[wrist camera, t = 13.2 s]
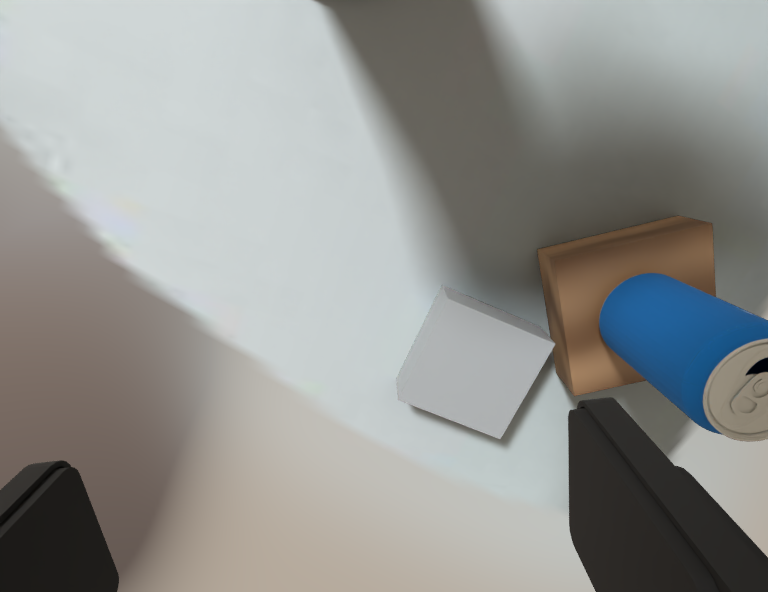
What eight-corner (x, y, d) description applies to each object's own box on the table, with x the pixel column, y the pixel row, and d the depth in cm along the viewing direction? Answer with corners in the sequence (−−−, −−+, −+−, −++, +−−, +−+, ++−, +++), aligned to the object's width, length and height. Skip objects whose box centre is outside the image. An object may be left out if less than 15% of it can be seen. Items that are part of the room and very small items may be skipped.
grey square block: (441, 284, 39) (448, 298, 35) (538, 325, 40) (555, 343, 36) (396, 376, 42) (397, 399, 38) (489, 413, 43) (500, 439, 39)
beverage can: (702, 299, 35) (858, 372, 24) (643, 368, 37) (763, 469, 25) (633, 253, 34) (762, 306, 23) (576, 326, 36) (669, 411, 24)
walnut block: (537, 249, 38) (554, 260, 34) (678, 215, 37) (712, 223, 34) (556, 372, 41) (574, 396, 37) (686, 343, 40) (718, 364, 37)
